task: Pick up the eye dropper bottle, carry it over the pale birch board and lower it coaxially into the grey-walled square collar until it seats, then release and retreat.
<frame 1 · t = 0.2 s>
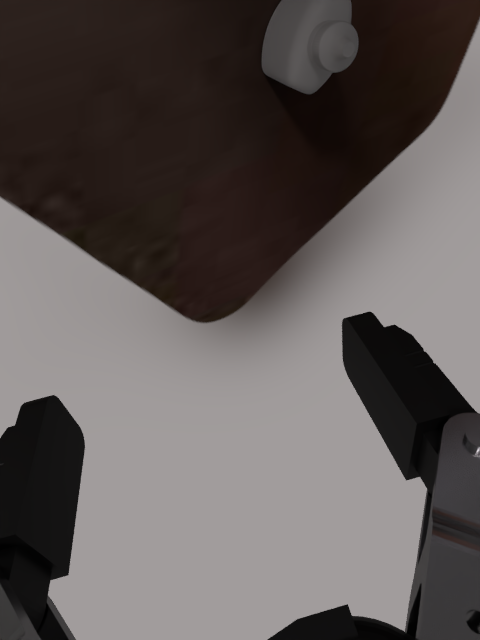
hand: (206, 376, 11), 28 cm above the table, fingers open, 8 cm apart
eye dropper bottle: (285, 37, 31), on the table
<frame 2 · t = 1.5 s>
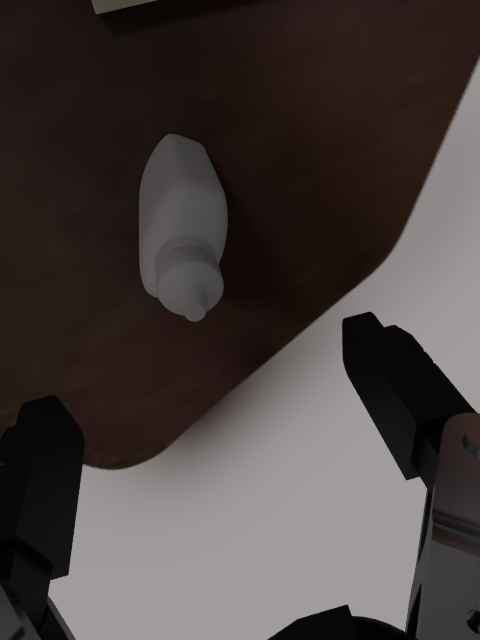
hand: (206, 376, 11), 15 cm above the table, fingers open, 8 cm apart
eye dropper bottle: (172, 184, 23), on the table
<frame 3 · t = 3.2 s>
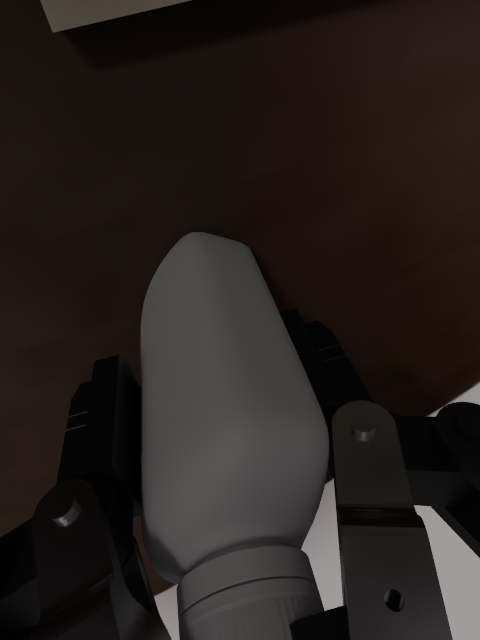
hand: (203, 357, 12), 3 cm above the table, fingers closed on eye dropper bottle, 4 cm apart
eye dropper bottle: (193, 298, 14), on the table, touching gripper
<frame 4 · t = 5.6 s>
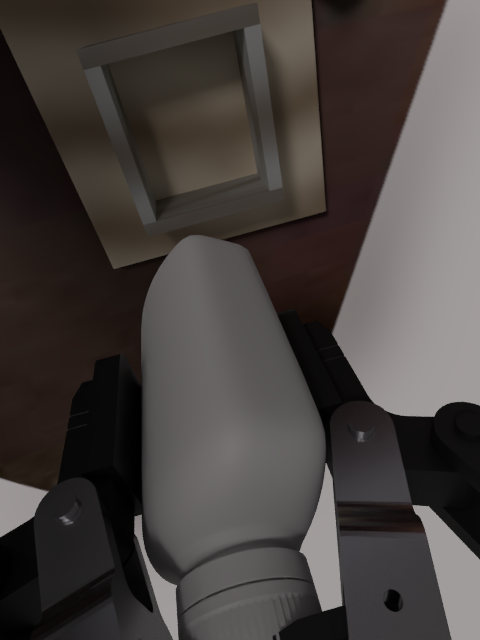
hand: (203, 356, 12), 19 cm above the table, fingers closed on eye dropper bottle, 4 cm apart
collar board: (188, 119, 25), on the table
eye dropper bottle: (193, 301, 14), point 16 cm above the table, touching gripper
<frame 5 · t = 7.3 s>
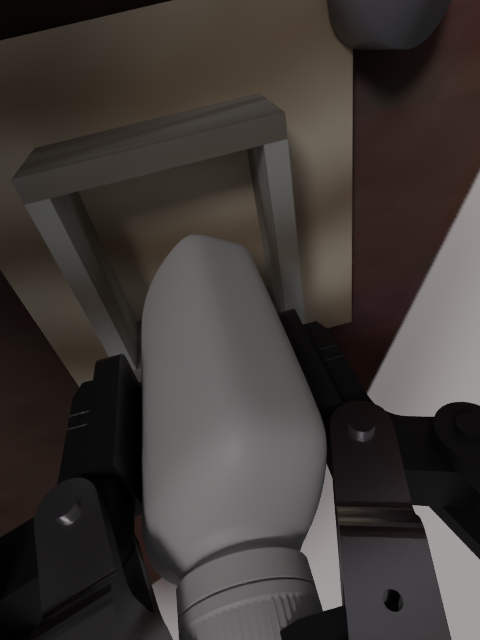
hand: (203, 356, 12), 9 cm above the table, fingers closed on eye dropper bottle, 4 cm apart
collar board: (180, 225, 19), on the table
eye dropper bottle: (193, 300, 14), point 6 cm above the table, touching gripper
when the fingers open (5 cm above the table, at t = 8.4 s): eye dropper bottle drops 1 cm, resting on collar board.
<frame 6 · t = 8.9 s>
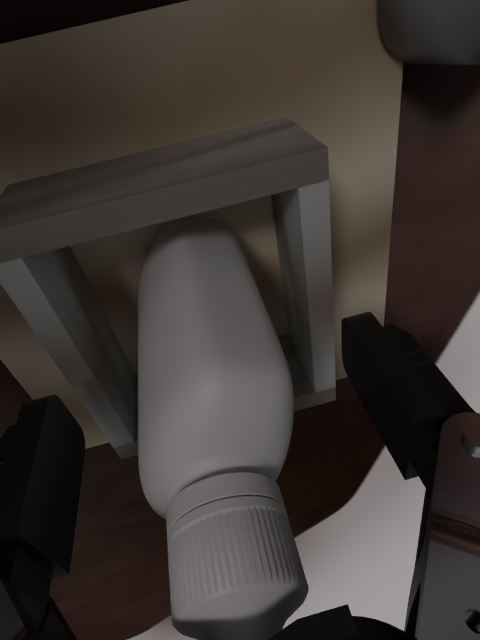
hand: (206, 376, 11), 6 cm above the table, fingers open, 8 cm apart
collar board: (187, 266, 16), on the table
eye dropper bottle: (185, 279, 15), point 1 cm above the table, touching collar board
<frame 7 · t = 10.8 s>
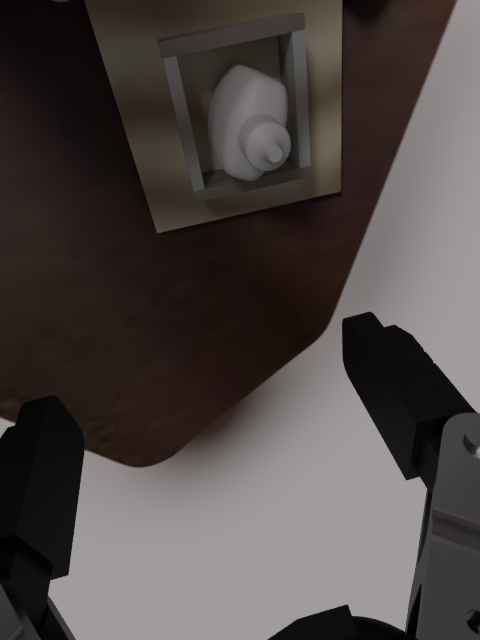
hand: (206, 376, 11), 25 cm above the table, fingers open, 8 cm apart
collar board: (232, 105, 29), on the table
eye dropper bottle: (232, 108, 29), point 1 cm above the table, touching collar board
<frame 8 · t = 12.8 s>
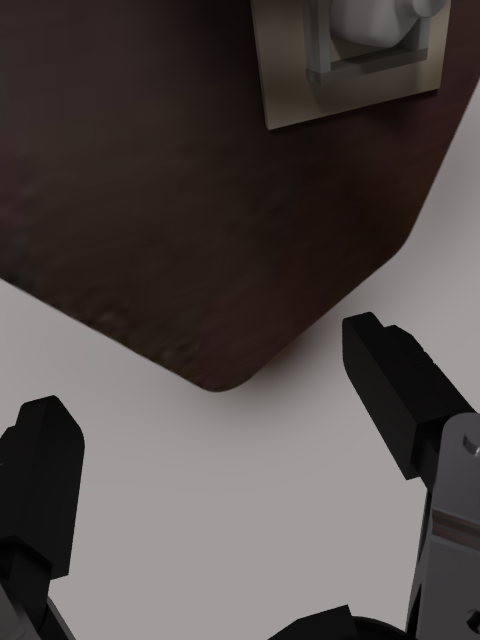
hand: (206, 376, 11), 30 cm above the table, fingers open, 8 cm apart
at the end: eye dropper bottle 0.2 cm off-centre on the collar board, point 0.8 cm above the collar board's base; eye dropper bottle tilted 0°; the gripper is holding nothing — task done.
